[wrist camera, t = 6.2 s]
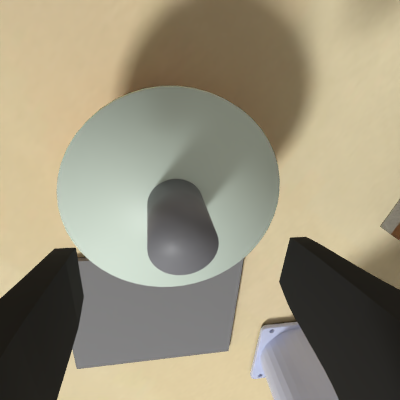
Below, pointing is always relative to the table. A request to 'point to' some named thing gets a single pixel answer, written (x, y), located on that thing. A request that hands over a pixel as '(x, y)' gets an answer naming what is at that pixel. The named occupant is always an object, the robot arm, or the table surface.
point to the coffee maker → (393, 222)
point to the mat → (152, 318)
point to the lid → (168, 186)
